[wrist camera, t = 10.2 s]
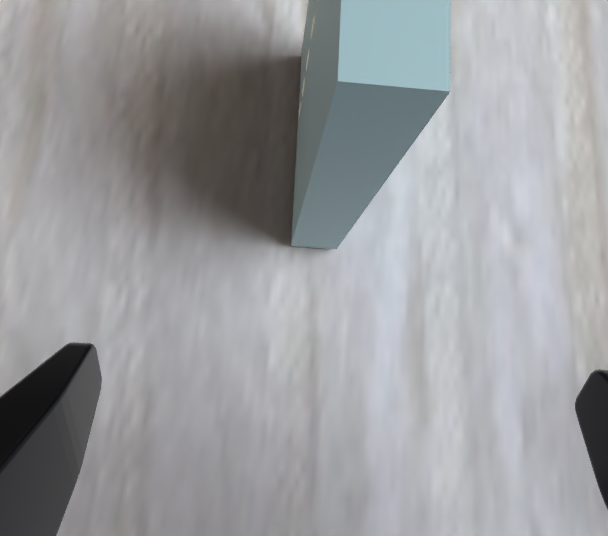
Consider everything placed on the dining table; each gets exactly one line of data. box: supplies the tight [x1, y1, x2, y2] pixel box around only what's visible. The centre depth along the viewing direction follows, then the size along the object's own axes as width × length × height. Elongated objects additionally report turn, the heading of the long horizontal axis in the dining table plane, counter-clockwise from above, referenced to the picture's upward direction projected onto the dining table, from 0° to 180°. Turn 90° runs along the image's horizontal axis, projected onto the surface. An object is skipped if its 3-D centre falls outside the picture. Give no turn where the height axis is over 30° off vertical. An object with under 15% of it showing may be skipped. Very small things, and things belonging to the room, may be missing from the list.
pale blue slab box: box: [291, 0, 450, 249], centre depth 13 cm, size 8×2×11 cm, turn 177°
